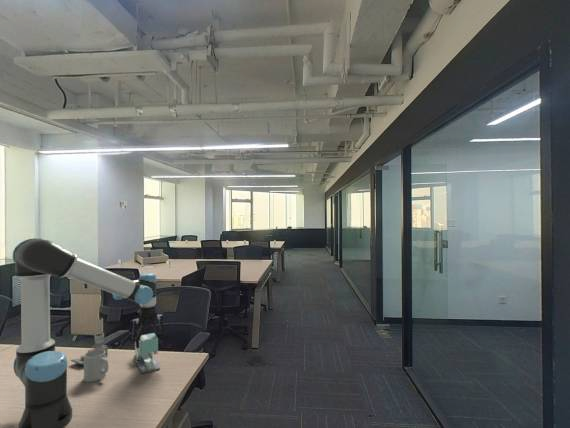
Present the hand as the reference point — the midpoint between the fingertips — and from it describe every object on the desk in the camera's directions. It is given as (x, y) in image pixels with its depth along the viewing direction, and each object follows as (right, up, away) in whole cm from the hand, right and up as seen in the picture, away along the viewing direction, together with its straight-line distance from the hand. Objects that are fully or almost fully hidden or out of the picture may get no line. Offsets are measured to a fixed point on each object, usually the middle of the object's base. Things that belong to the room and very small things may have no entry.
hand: (148, 352), depth 152 cm
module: (0, 0, 0) cm, 0 cm away
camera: (-32, -7, +6) cm, 33 cm away
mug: (-18, -7, -11) cm, 22 cm away
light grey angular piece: (-2, -7, +3) cm, 8 cm away
